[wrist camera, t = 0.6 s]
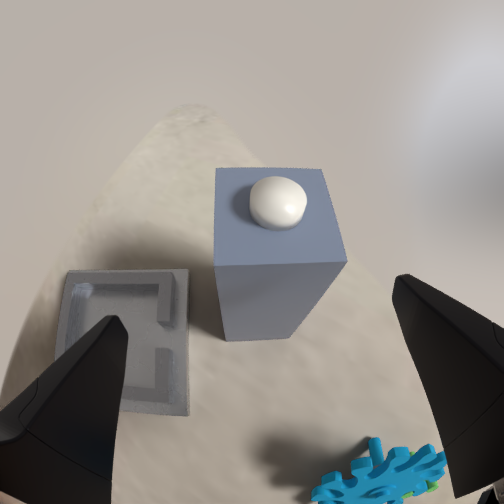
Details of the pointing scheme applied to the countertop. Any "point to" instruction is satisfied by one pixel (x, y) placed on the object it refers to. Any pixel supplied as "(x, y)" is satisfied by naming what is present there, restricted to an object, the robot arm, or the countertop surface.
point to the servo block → (272, 249)
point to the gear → (383, 477)
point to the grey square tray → (136, 330)
